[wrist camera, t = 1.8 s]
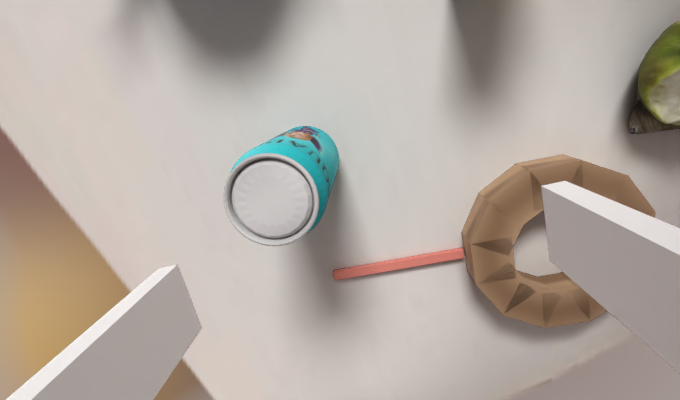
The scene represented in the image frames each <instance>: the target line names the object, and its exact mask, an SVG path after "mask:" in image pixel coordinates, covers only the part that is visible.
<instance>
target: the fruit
mask: <svg viewBox="0 0 680 400" xmlns="http://www.w3.org/2000/svg"><path fill="white" fill-rule="evenodd" d="M632 129H633V130H634V132H632V133H631V132H630V130H632ZM673 129H680V21H678V22H676V23H674V24H673V25H671V26H669V27H668V28H667V29H666V30H665V31H664V32H663V33H662V35H661V36H660V37H659V38H658V39H657V40H656V41H655V43H654V44H653V45H652V46H651V48H650V49H649V51H648V52H647V53H646V55H645V57H644V59H643V61H642V63H641V66H640V70H639V75H638V92H637V102H636V105H635V107H634V110H633V113H632V115H631V118H630V122H629V132H630V133H631V134H640V133H647V132H654V131H663V130H673Z"/></svg>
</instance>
